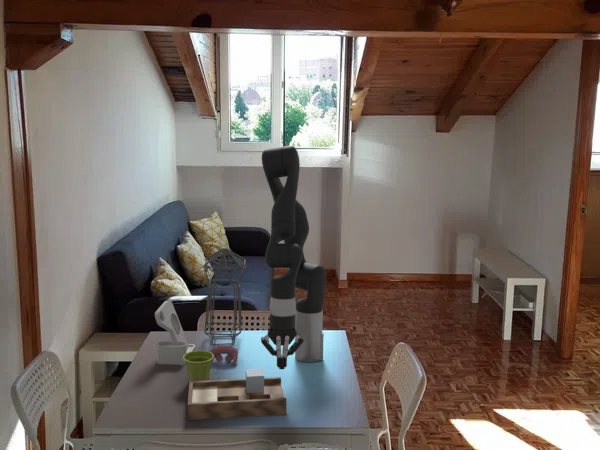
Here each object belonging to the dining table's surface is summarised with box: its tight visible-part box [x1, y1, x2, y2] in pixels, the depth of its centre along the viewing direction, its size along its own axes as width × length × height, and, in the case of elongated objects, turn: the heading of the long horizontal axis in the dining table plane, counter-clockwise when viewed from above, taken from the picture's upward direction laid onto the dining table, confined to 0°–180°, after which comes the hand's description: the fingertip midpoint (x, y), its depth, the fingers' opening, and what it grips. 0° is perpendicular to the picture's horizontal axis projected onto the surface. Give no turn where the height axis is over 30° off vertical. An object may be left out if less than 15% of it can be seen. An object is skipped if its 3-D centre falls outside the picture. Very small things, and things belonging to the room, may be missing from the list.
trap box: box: [187, 376, 287, 421], centre depth 175 cm, size 27×15×4 cm, turn 98°
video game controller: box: [209, 344, 239, 367], centre depth 205 cm, size 10×5×7 cm, turn 85°
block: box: [245, 368, 265, 393], centre depth 178 cm, size 5×5×5 cm
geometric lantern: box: [202, 247, 247, 346], centre depth 223 cm, size 16×16×35 cm
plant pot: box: [183, 350, 214, 383], centre depth 189 cm, size 9×9×9 cm
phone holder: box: [154, 299, 196, 366], centre depth 210 cm, size 17×10×18 cm, turn 178°
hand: (281, 368), depth 179 cm, fingers closed
